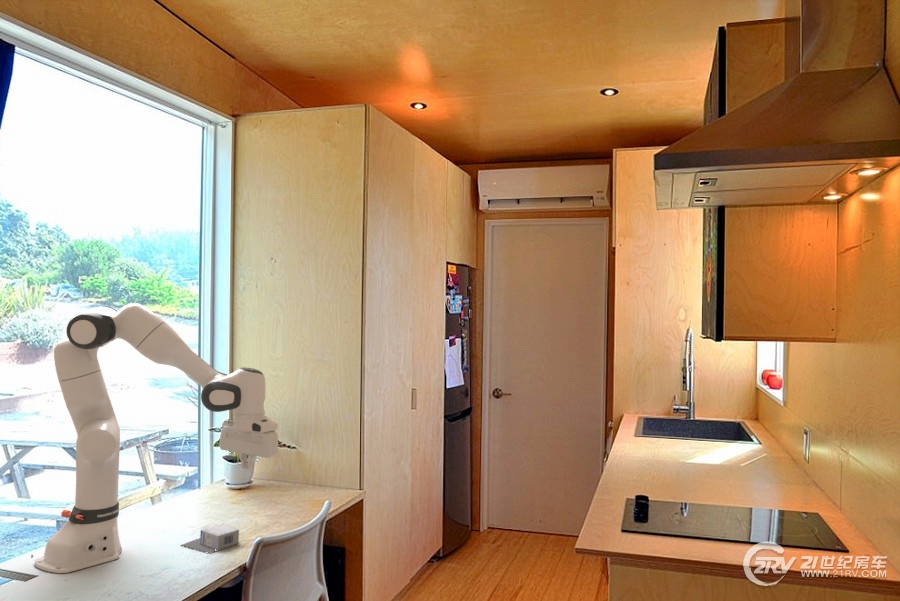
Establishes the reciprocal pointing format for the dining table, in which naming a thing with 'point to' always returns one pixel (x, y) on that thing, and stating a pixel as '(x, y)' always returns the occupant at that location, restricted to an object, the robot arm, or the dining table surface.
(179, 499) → the dining table surface
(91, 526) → the robot arm
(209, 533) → the medicine box
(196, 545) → the mat
